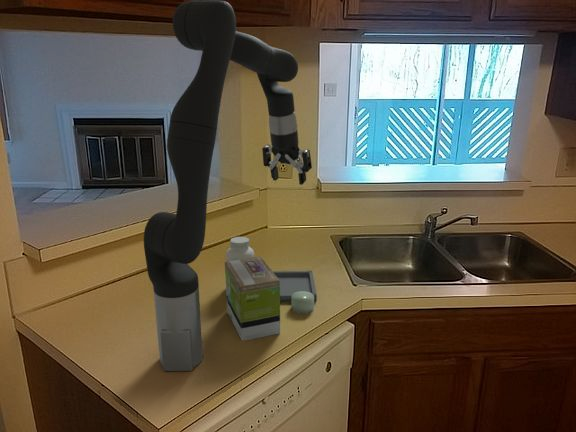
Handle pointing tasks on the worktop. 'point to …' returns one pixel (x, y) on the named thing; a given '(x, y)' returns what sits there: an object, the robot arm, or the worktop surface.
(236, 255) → the pill bottle
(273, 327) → the tea box
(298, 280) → the tray
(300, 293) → the squat mint cylinder
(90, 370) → the worktop surface
